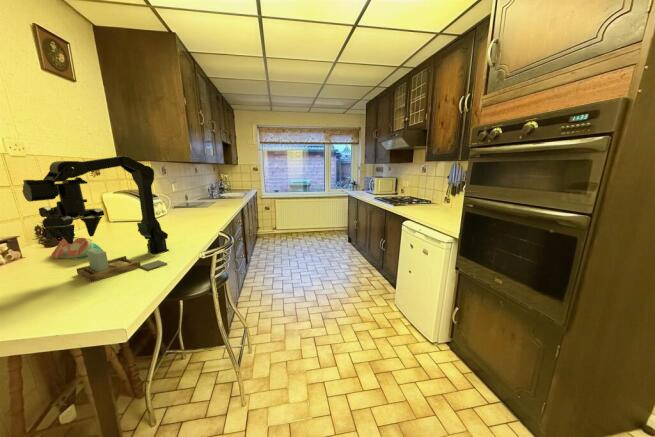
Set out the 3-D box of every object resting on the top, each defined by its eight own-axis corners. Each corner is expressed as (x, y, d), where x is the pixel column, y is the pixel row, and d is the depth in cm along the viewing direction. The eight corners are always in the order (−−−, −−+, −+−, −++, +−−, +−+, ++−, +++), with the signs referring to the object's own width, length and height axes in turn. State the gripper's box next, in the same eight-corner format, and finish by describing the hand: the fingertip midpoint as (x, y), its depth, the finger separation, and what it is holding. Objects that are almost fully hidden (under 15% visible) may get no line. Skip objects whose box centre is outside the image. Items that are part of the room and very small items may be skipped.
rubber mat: (158, 261, 105) (158, 260, 105) (167, 264, 101) (167, 263, 101) (139, 267, 99) (139, 265, 99) (148, 270, 95) (148, 269, 95)
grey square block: (100, 270, 97) (95, 248, 95) (110, 275, 92) (105, 252, 90) (91, 272, 94) (86, 249, 93) (101, 277, 90) (96, 254, 88)
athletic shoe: (103, 260, 109) (114, 235, 115) (78, 254, 101) (91, 227, 107) (65, 267, 117) (77, 244, 123) (40, 262, 109) (53, 237, 115)
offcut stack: (123, 263, 103) (122, 259, 102) (132, 267, 99) (132, 263, 98) (107, 268, 98) (106, 263, 98) (116, 272, 94) (116, 268, 94)
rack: (126, 261, 105) (125, 256, 105) (140, 267, 99) (139, 261, 99) (77, 274, 92) (76, 268, 92) (90, 282, 86) (89, 275, 86)
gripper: (68, 195, 95) (78, 234, 99) (16, 202, 77) (30, 249, 81) (101, 194, 97) (109, 232, 100) (57, 201, 79) (68, 247, 82)
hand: (81, 239), depth 91 cm, fingers open, 9 cm apart
